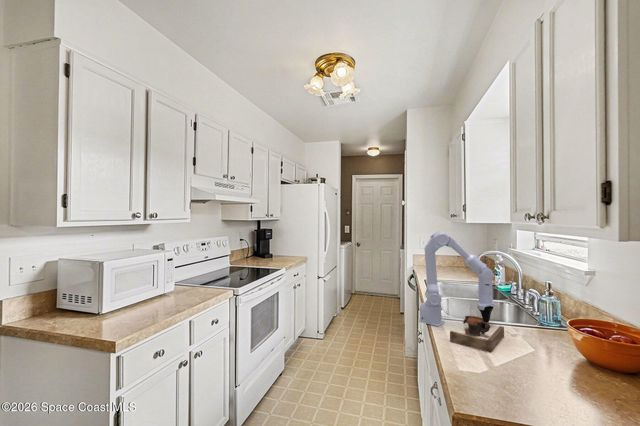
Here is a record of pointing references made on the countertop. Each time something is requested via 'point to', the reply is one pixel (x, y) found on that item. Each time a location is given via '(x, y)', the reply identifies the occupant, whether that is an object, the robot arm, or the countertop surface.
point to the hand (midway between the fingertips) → (486, 321)
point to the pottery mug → (476, 325)
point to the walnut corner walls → (478, 340)
